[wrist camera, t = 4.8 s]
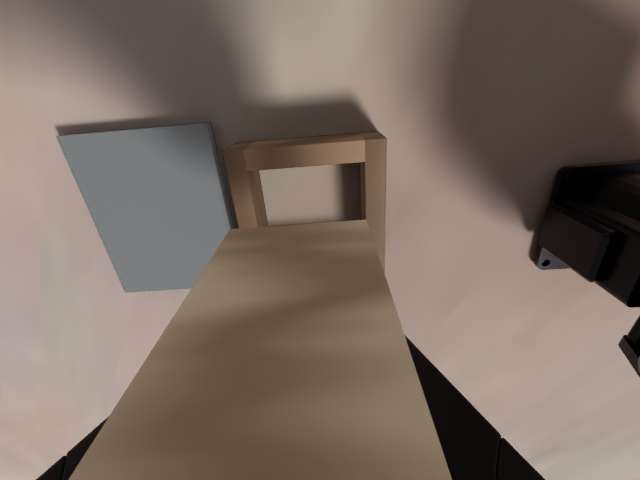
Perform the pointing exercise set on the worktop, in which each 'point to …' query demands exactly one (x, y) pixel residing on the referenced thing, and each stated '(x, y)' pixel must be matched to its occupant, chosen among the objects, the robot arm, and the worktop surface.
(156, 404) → the birch block
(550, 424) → the worktop surface
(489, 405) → the worktop surface
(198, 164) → the slate mat
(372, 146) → the walnut pocket
